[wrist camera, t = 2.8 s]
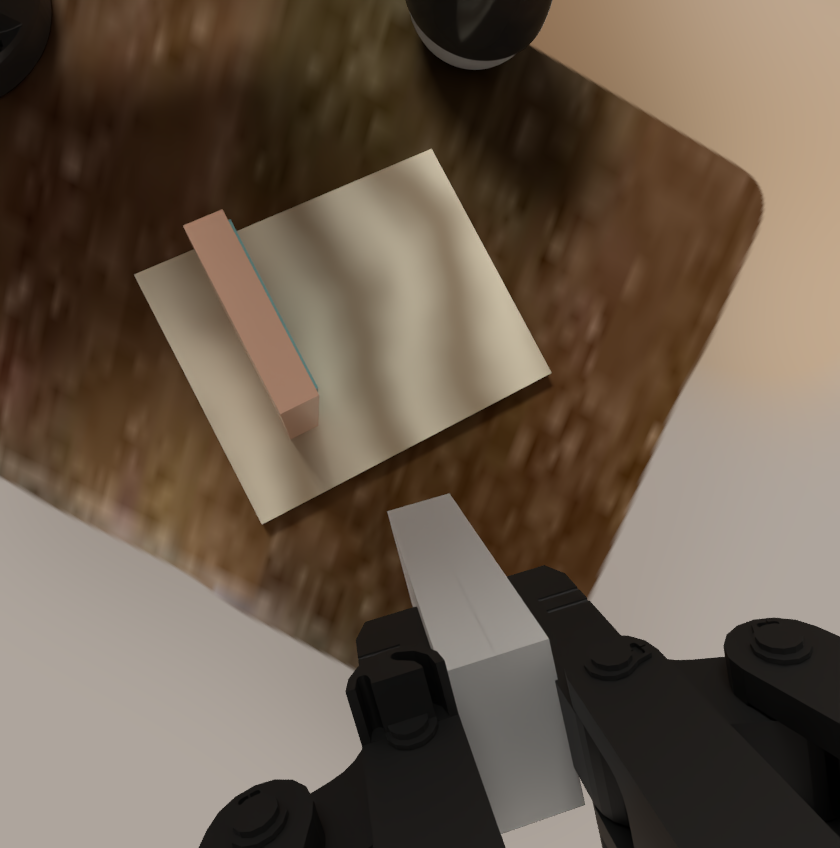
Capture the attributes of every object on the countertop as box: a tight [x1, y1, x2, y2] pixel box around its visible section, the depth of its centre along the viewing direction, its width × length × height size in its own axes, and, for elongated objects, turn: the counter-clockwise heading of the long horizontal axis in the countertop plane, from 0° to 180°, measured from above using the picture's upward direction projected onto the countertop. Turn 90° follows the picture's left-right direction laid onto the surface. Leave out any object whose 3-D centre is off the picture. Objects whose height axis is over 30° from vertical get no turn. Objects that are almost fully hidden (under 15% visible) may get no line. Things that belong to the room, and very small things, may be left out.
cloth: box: [134, 149, 551, 524], centre depth 44 cm, size 22×18×1 cm
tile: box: [183, 209, 319, 439], centre depth 36 cm, size 2×10×12 cm, turn 28°
